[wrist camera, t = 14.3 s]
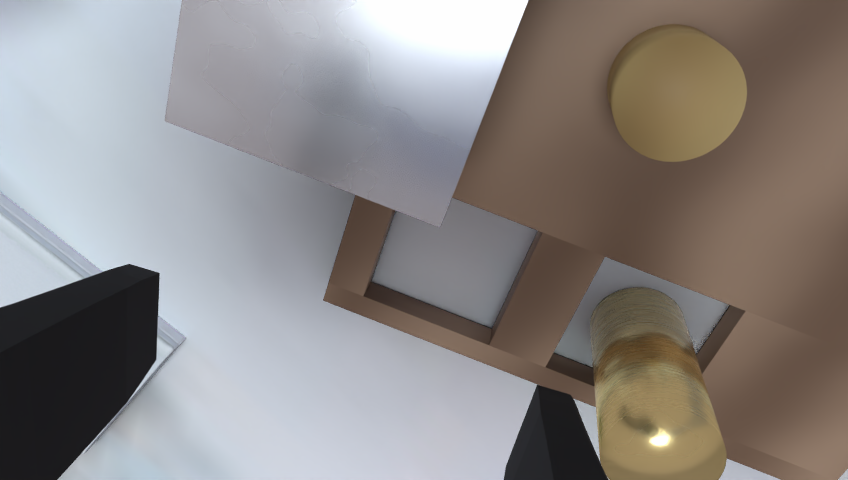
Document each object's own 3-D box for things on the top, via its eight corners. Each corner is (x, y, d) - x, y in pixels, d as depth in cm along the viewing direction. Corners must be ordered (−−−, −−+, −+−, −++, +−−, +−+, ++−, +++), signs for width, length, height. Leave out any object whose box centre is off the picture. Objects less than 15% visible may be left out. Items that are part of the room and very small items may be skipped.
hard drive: (173, 353, 25) (-119, 128, 23) (80, 459, 28) (-179, 273, 26) (194, 328, 26) (-78, 115, 24) (104, 432, 30) (-140, 254, 28)
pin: (705, 319, 21) (754, 451, 16) (644, 379, 22) (671, 519, 17) (627, 271, 21) (651, 388, 16) (571, 334, 22) (576, 462, 17)
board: (1171, 66, 16) (1293, 94, 13) (812, 473, 23) (845, 545, 20) (294, -263, 16) (243, -300, 14) (201, 234, 23) (154, 274, 21)
